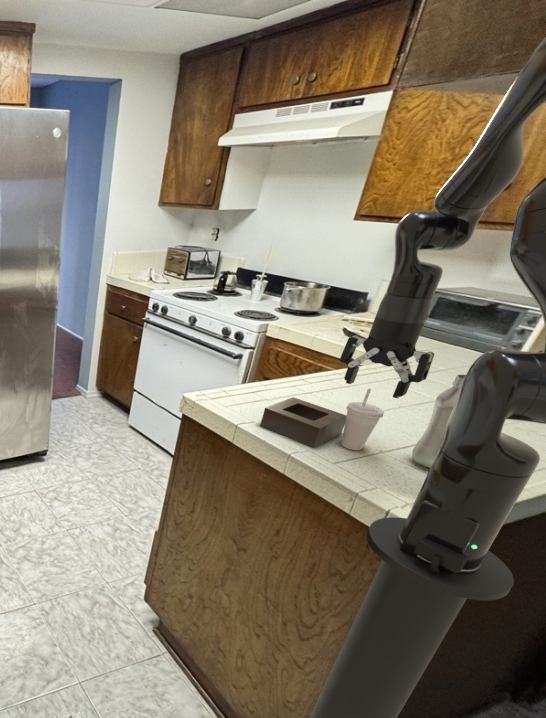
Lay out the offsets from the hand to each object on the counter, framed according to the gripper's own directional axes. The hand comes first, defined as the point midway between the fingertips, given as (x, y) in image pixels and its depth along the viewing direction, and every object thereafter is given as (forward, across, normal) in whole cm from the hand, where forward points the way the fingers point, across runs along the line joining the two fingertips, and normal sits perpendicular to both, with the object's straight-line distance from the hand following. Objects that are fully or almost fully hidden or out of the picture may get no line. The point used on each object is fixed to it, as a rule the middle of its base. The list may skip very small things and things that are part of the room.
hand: (372, 389), depth 101 cm
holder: (+14, -10, -2) cm, 17 cm away
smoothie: (+14, 0, 0) cm, 14 cm away
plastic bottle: (+14, +12, +5) cm, 19 cm away
